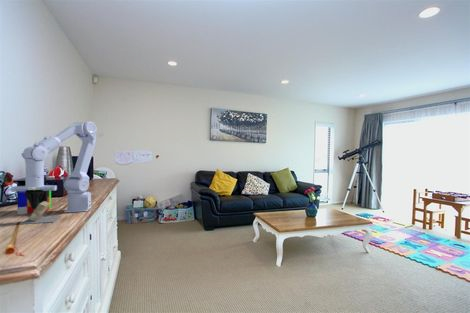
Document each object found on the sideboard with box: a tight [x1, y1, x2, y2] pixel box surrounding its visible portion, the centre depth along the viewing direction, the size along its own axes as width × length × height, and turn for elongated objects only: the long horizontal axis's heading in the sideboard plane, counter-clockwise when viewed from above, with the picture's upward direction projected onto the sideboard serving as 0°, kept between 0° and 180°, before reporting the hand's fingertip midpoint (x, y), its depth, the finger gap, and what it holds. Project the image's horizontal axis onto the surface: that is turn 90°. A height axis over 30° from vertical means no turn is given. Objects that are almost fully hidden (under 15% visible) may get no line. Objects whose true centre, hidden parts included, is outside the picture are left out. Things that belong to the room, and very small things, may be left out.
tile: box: [28, 201, 52, 221], centre depth 95 cm, size 2×5×7 cm, turn 20°
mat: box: [19, 215, 62, 226], centre depth 95 cm, size 11×8×1 cm
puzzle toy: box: [17, 189, 52, 215], centre depth 110 cm, size 10×10×10 cm
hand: (34, 208), depth 95 cm, fingers closed
